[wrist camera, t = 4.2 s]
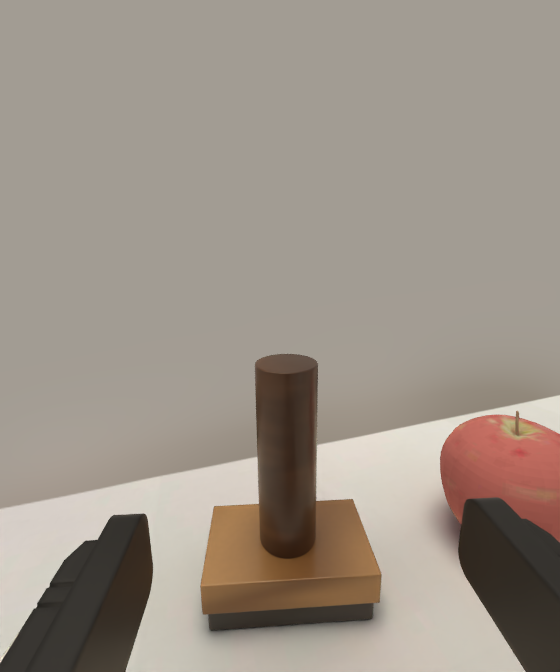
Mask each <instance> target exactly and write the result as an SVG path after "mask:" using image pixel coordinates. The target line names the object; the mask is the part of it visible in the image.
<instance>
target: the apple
mask: <svg viewBox="0 0 560 672" xmlns="http://www.w3.org/2000/svg"><path fill="white" fill-rule="evenodd" d="M440 471H441V479H442V484H443V488H444V492H445V496H446V499H447V502H448V504H449V506H450V508H451V510H452V512H453V513H454V515H455V517H456V518H457V520H458V521H459V522H460V524H461V523H462V516H463V508H464V503H465V501H466V500H467V499H472V498H493V497H498V498H501V499H502V500H504V501H505V502H506V503H507V504H508V505H509V506H510V507H511V508H512V509H513V510H514V511H515V512H516V513H517V514H518V515H519V516H520V517H521V518H522V519H528V520H529V521H531V522H533V523H534V524H536V525H537V526H539V527H540V528H542V529H544V530H545V531H547V532H548V533H550V534H551V535H552V536H553V537H554V538H555V539H556V540H557V541H558V542H560V434H558V433H556V432H554V431H552V430H550V429H548V428H546V427H544V426H542V425H540V424H537V423H535V422H531V421H528V420H525V419H522V418H519V412H518V411H516V417H513V416H508V415H487V416H482V417H477V418H474V419H471V420H469V421H466V422H464V423H462V424H460V425H459V426H458V427H456V428H455V429H454V431H453V432H452V433H451V434H450V435H449V437H448V438H447V439H446V441H445V443H444V445H443V447H442V451H441V456H440Z"/></svg>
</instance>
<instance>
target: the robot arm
mask: <svg viewBox="0 0 560 672" xmlns="http://www.w3.org/2000/svg"><path fill="white" fill-rule="evenodd" d="M458 553H459V560H460V564H461V567H462V570H463V572H464V574H465V576H466V578H467V580H468V581H469V583H470V584H471V586H472V588H473V589H474V591H475V592H476V594H477V595H478V597H479V599H480V600H481V602H482V603H483V605H484V607H485V608H486V610H487V611H488V613H489V614H490V616H491V618H492V619H493V621H494V622H495V624H496V625H497V627H498V629H499V630H500V632H501V633H502V635H503V636H504V638H505V640H506V641H507V643H508V644H509V646H510V648H511V649H512V651H513V652H514V654H515V655H516V657H517V659H518V660H519V662H520V663H521V665H522V666H523V668H524V670H525V671H526V672H560V542H558V541H557V540H556V539H555V538H554V537H553V536H552V535H551V534H550V533H548V532H547V531H545V530H544V529H542V528H540V527H539V526H537V525H536V524H534V523H533V522H531V521H529V520H528V519H522V518H521V517H520V516H519V515H518V514H517V513H516V512H515V511H514V510H513V509H512V508H511V507H510V506H509V505H508V504H507V503H506V502H505V501H504V500H502V499H501V498H498V497H493V498H472V499H467V500H466V501H465V503H464V508H463V516H462V523H461V531H460V539H459V547H458ZM152 576H153V562H152V554H151V545H150V536H149V527H148V519H147V516H146V515H145V514H128V515H113V516H112V517H111V518H110V519H109V520H108V522H107V524H106V526H105V528H104V529H103V531H102V533H101V535H100V537H99V538H98V540H91V541H85V542H84V543H83V544H81V545H80V546H79V547H78V548H77V549H76V550H75V551H74V552H73V553H72V554H71V555H70V556H68V557H67V558H66V559H65V560H64V562H63V563H62V565H61V566H60V568H59V570H58V571H57V573H56V574H55V576H54V578H53V579H52V581H51V582H50V587H49V588H47V589H46V590H45V592H44V594H43V595H42V597H41V598H40V600H39V602H38V603H37V608H36V609H34V610H33V611H32V613H31V614H30V616H29V618H28V619H27V621H26V622H25V624H24V626H23V627H22V629H21V630H20V632H19V634H18V635H17V637H16V638H15V640H14V642H13V643H12V645H11V646H10V648H9V650H8V651H7V653H6V654H5V656H4V658H3V659H2V661H1V662H0V672H125V670H126V667H127V664H128V661H129V658H130V655H131V651H132V648H133V645H134V642H135V639H136V636H137V633H138V629H139V626H140V623H141V620H142V617H143V614H144V610H145V607H146V604H147V601H148V598H149V594H150V590H151V584H152Z"/></svg>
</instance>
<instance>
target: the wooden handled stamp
mask: <svg viewBox="0 0 560 672" xmlns="http://www.w3.org/2000/svg"><path fill="white" fill-rule="evenodd" d="M317 380H318V363H317V361H316V360H314V359H312V358H310V357H307V356H302V355H295V354H278V355H271V356H267V357H263V358H261V359H259V360H257V362H256V363H255V382H256V383H255V386H256V418H257V452H258V487H259V504H251V505H232V506H215V507H214V510H213V515H212V521H211V527H210V533H209V539H208V545H207V551H206V557H205V562H204V568H203V574H202V580H201V586H200V587H201V599H202V612H203V614H204V615H206V614H208V616H209V628H210V630H223V629H237V628H251V627H265V626H279V625H293V624H307V623H321V622H335V621H349V620H363V619H372V616H373V603H379V602H380V588H381V572H380V569H379V567H378V564H377V562H376V559H375V556H374V554H373V551H372V549H371V546H370V543H369V541H368V538H367V535H366V533H365V530H364V528H363V525H362V522H361V520H360V517H359V515H358V512H357V509H356V507H355V504H354V501H353V499H347V500H328V501H316V460H317V383H318V381H317Z"/></svg>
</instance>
